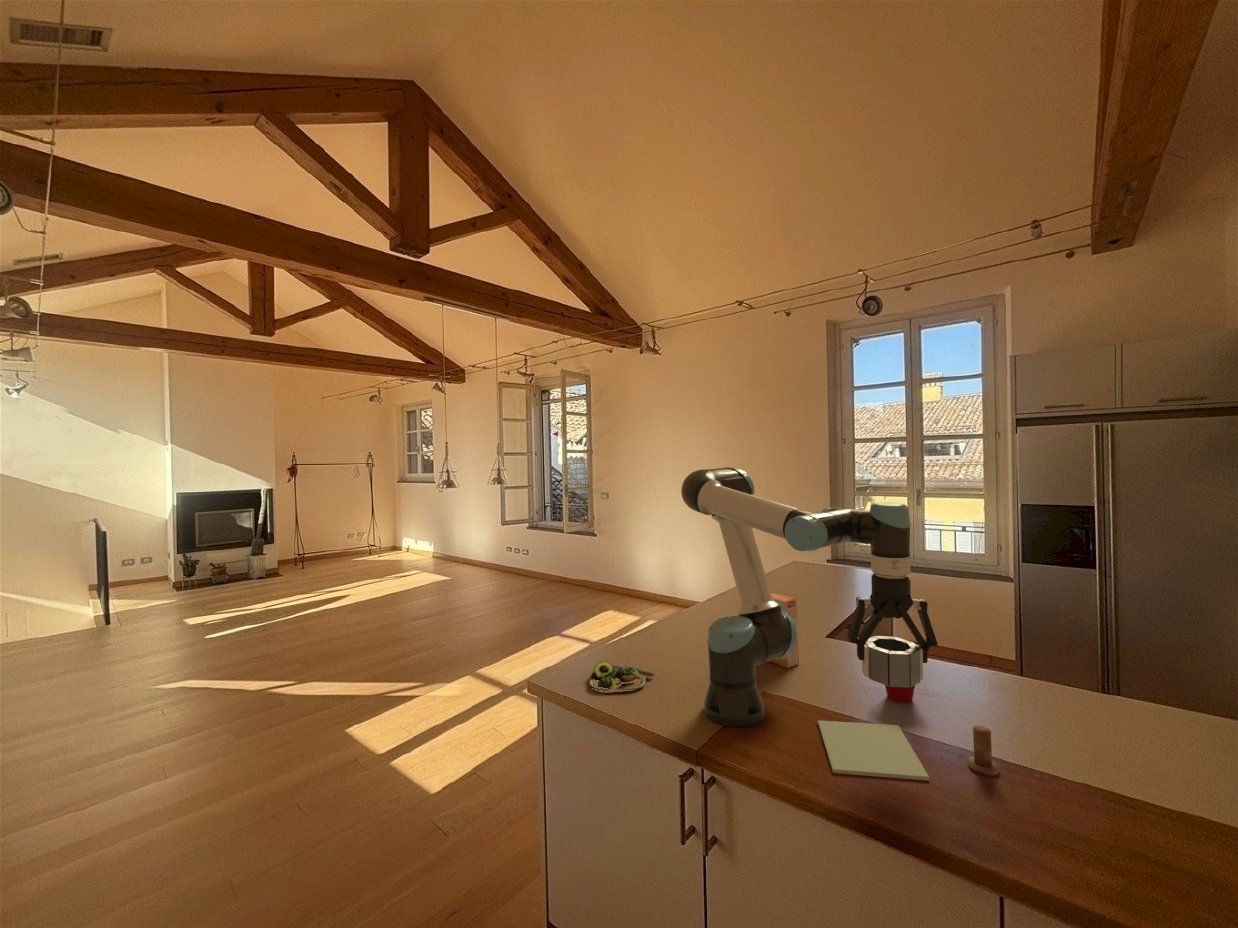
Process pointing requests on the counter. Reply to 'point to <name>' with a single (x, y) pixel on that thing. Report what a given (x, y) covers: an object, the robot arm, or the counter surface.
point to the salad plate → (617, 676)
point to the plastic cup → (900, 694)
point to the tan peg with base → (982, 753)
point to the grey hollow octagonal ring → (893, 661)
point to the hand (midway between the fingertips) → (891, 675)
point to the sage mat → (870, 750)
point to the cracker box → (791, 609)
